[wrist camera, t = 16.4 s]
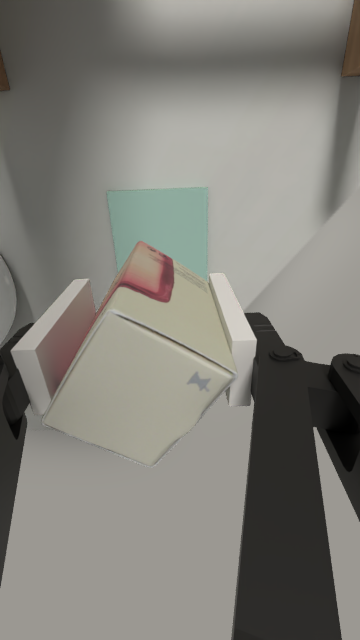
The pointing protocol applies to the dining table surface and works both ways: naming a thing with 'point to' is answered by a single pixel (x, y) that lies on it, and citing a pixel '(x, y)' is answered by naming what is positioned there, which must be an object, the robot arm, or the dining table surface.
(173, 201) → the pad
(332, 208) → the dining table surface
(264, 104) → the dining table surface
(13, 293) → the teapot
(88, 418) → the small box
